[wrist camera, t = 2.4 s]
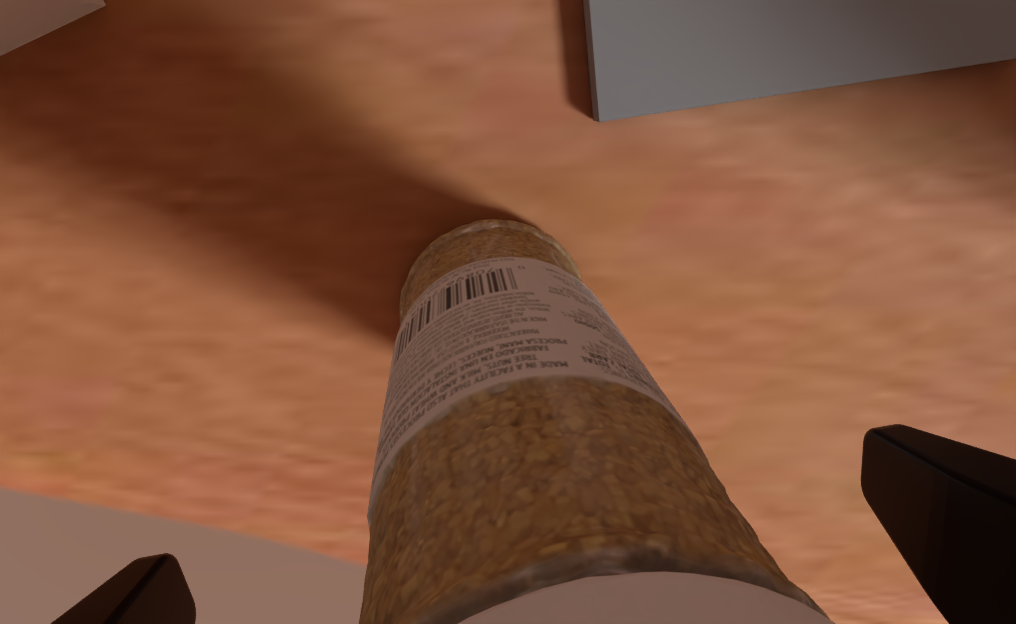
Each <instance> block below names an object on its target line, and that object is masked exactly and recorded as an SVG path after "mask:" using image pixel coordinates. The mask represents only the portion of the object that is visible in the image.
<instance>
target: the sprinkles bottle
mask: <svg viewBox="0 0 1016 624" xmlns="http://www.w3.org/2000/svg"><path fill="white" fill-rule="evenodd" d="M399 315H400V325H401V326H400V328H399V331H398V334H397V337H396V341H395V345H394V351H393V357H392V363H391V369H390V375H389V381H388V388H387V392H386V398H385V404H384V410H383V416H382V422H381V428H380V434H379V441H378V447H377V453H376V460H375V466H374V472H373V479H372V486H371V493H370V500H369V507H368V514H367V518H368V523H369V529H370V543H369V555H368V565H367V570H366V576H365V583H364V593H363V603H362V608H361V614H360V620H359V624H835V623H834V622H832V621H831V620H830V619H829V617H828V616H827V615H826V613H825V612H824V611H823V610H822V609H821V608H820V607H819V606H818V605H817V604H816V603H815V602H814V601H813V600H812V599H811V598H810V597H809V595H808V594H807V593H806V592H804V591H803V590H802V589H800V588H799V587H798V586H796V585H795V584H793V583H792V582H791V581H789V580H788V579H787V577H786V576H785V575H784V573H783V572H782V571H781V570H780V568H779V567H778V565H777V564H776V562H775V560H774V559H773V557H772V556H771V555H770V554H769V553H768V551H767V550H766V549H765V548H764V547H763V545H762V544H761V543H760V542H759V539H758V537H757V535H756V533H755V531H754V530H753V528H752V527H751V525H750V524H749V523H748V522H747V520H746V519H745V518H744V517H743V516H742V514H741V513H740V512H739V510H738V509H737V508H736V507H735V505H734V504H733V503H732V502H731V501H730V499H729V497H728V495H727V493H726V490H725V487H724V486H723V485H722V483H721V482H720V481H719V479H718V478H717V476H716V475H715V473H714V471H713V470H712V468H711V467H710V465H709V462H708V459H707V458H706V456H705V454H704V452H703V450H702V448H701V446H700V445H699V443H698V441H697V440H696V438H695V437H694V435H693V434H692V432H691V430H690V429H689V427H688V426H687V425H686V423H685V422H684V420H683V419H682V418H681V416H680V415H679V414H678V412H677V411H676V409H675V408H674V407H673V405H672V404H671V403H670V401H669V400H668V398H667V397H666V396H665V394H664V393H663V392H662V390H661V389H660V387H659V386H658V385H657V383H656V382H655V380H654V379H653V377H652V376H651V374H650V373H649V371H648V370H647V368H646V367H645V365H644V364H643V363H642V361H641V360H640V359H639V357H638V356H637V354H636V353H635V351H634V350H633V348H632V347H631V345H630V344H629V343H628V341H627V340H626V338H625V337H624V335H623V334H622V333H621V331H620V330H619V328H618V327H617V325H616V324H615V323H614V321H613V320H612V318H611V317H610V316H609V314H608V313H607V311H606V310H605V308H604V307H603V306H602V304H601V303H600V301H599V300H598V298H597V297H596V296H595V295H594V294H593V293H592V292H591V290H590V289H589V288H587V287H586V286H585V285H584V284H583V282H582V280H581V274H580V272H579V270H578V268H577V265H576V264H575V262H574V260H573V259H572V257H571V256H570V254H569V253H568V252H567V251H566V250H565V249H564V248H563V247H562V246H561V245H560V243H559V242H557V241H556V240H555V239H554V238H553V237H552V236H550V235H548V234H546V233H544V232H542V231H540V230H538V229H537V228H535V227H533V226H530V225H527V224H524V223H520V222H517V221H512V220H500V219H486V220H478V221H474V222H472V223H470V224H465V225H461V226H458V227H456V228H455V229H453V230H452V231H450V232H449V233H446V234H443V235H441V236H439V237H438V238H437V239H435V240H434V241H433V242H432V243H430V245H429V246H428V247H427V248H426V249H425V250H424V251H423V252H422V253H421V254H420V255H419V257H418V258H417V259H416V261H415V262H414V263H413V265H412V267H411V269H410V272H409V274H408V277H407V280H406V282H405V285H404V286H403V288H402V290H401V296H400V307H399Z"/></svg>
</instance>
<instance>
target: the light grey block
mask: <svg viewBox="0 0 1016 624" xmlns="http://www.w3.org/2000/svg"><path fill="white" fill-rule="evenodd" d="M104 6H106V4H105V3H104V1H103V0H0V56H2V55H4V54H6V53H8V52H10V51H12V50H14V49H16V48H18V47H20V46H22V45H25V44H27V43H29V42H31V41H33V40H35V39H37V38H39V37H41V36H43V35H45V34H48V33H50V32H52V31H54V30H56V29H58V28H60V27H62V26H64V25H66V24H68V23H71V22H73V21H75V20H77V19H79V18H81V17H83V16H85V15H87V14H89V13H91V12H94V11H96V10H98V9H100V8H102V7H104Z"/></svg>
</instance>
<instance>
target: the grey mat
mask: <svg viewBox="0 0 1016 624" xmlns="http://www.w3.org/2000/svg"><path fill="white" fill-rule="evenodd" d="M583 7H584V19H585V30H586V42H587V53H588V65H589V76H590V88H591V99H592V111H593V120H594V121H598V122H603V121H610V120H616V119H623V118H630V117H636V116H643V115H649V114H656V113H662V112H669V111H675V110H682V109H689V108H695V107H702V106H708V105H715V104H721V103H728V102H735V101H741V100H748V99H754V98H761V97H767V96H774V95H780V94H787V93H794V92H800V91H807V90H813V89H820V88H826V87H833V86H840V85H846V84H853V83H859V82H866V81H872V80H879V79H886V78H892V77H899V76H905V75H912V74H918V73H925V72H931V71H938V70H945V69H951V68H958V67H964V66H971V65H977V64H984V63H991V62H997V61H1004V60H1010V59H1016V0H583Z"/></svg>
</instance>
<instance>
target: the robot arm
mask: <svg viewBox="0 0 1016 624" xmlns="http://www.w3.org/2000/svg"><path fill="white" fill-rule="evenodd" d="M861 487H862V491H863V494H864V496H865V499H866V501H867V502H868V504H869V505H870V507H871V509H872V510H873V512H874V513H875V515H876V516H877V518H878V519H879V521H880V523H881V524H882V526H883V527H884V529H885V530H886V532H887V533H888V535H889V536H890V538H891V540H892V541H893V543H894V544H895V546H896V547H897V549H898V550H899V552H900V553H901V555H902V557H903V558H904V560H905V561H906V563H907V564H908V566H909V567H910V569H911V570H912V572H913V574H914V575H915V577H916V578H917V580H918V581H919V583H920V584H921V586H922V587H923V589H924V590H925V592H926V593H927V595H928V596H929V598H930V599H931V600H932V602H933V603H934V605H935V606H936V607H937V609H938V610H939V611H940V613H941V614H942V615H943V616H944V618H945V619H946V620H947V622H948V623H949V624H1016V459H1012V458H1009V457H1006V456H1003V455H999V454H996V453H993V452H990V451H986V450H983V449H980V448H977V447H973V446H970V445H967V444H964V443H960V442H957V441H954V440H951V439H947V438H944V437H941V436H938V435H934V434H931V433H928V432H925V431H922V430H918V429H915V428H912V427H909V426H905V425H901V424H894V425H888V426H882V427H877V428H872V429H870V430H869V431H867V432H866V434H865V436H864V441H863V454H862V469H861ZM195 621H196V608H195V603H194V600H193V597H192V595H191V592H190V590H189V587H188V585H187V582H186V580H185V577H184V575H183V572H182V570H181V567H180V565H179V563H178V561H177V559H176V558H175V557H174V556H173V555H171V554H168V553H165V554H159V555H154V556H148V557H142V558H138V559H136V560H134V561H133V562H131V563H130V564H129V565H127V566H126V567H125V568H123V569H122V570H121V571H119V572H118V573H117V574H115V575H114V576H113V577H112V578H110V579H109V580H108V581H106V582H105V583H104V584H102V585H101V586H100V587H98V588H97V589H96V590H95V591H93V592H92V593H90V594H89V595H88V596H86V597H85V598H84V599H82V600H81V601H80V602H78V603H77V604H76V605H75V606H73V607H72V608H71V609H69V610H68V611H67V612H65V613H64V614H63V615H61V616H60V617H59V618H57V619H56V620H55V621H53V622H52V623H51V624H195Z"/></svg>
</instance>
